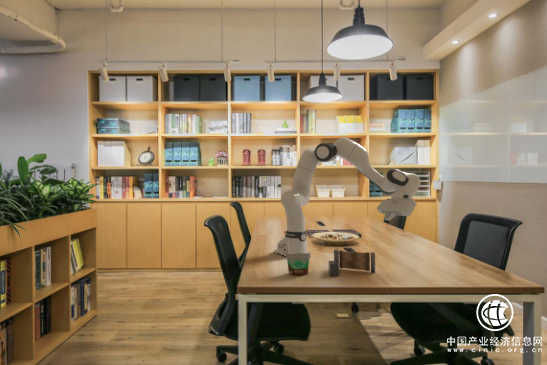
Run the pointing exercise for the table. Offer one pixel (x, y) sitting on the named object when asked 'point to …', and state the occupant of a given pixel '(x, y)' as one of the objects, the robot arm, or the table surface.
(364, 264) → the brown wooden bar
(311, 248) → the table surface
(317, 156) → the robot arm
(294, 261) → the yogurt cup
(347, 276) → the table surface
